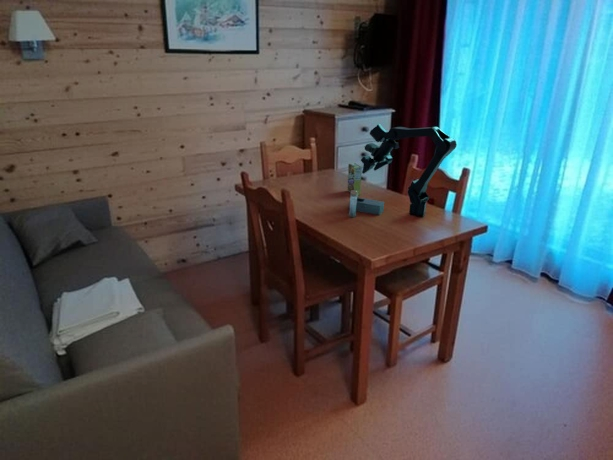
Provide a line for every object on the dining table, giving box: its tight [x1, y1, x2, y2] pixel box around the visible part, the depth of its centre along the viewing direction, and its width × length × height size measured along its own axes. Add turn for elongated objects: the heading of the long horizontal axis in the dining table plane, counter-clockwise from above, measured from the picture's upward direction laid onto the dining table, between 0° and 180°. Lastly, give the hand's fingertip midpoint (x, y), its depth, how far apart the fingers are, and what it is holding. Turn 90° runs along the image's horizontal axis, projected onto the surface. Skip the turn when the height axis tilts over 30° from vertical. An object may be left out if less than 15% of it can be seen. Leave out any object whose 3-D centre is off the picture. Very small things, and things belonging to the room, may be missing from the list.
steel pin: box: [348, 190, 358, 218], centre depth 207 cm, size 3×3×12 cm
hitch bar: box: [348, 196, 385, 216], centre depth 217 cm, size 15×7×4 cm, turn 64°
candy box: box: [347, 162, 363, 196], centre depth 240 cm, size 9×4×15 cm, turn 17°
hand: (368, 171), depth 227 cm, fingers open, 9 cm apart
